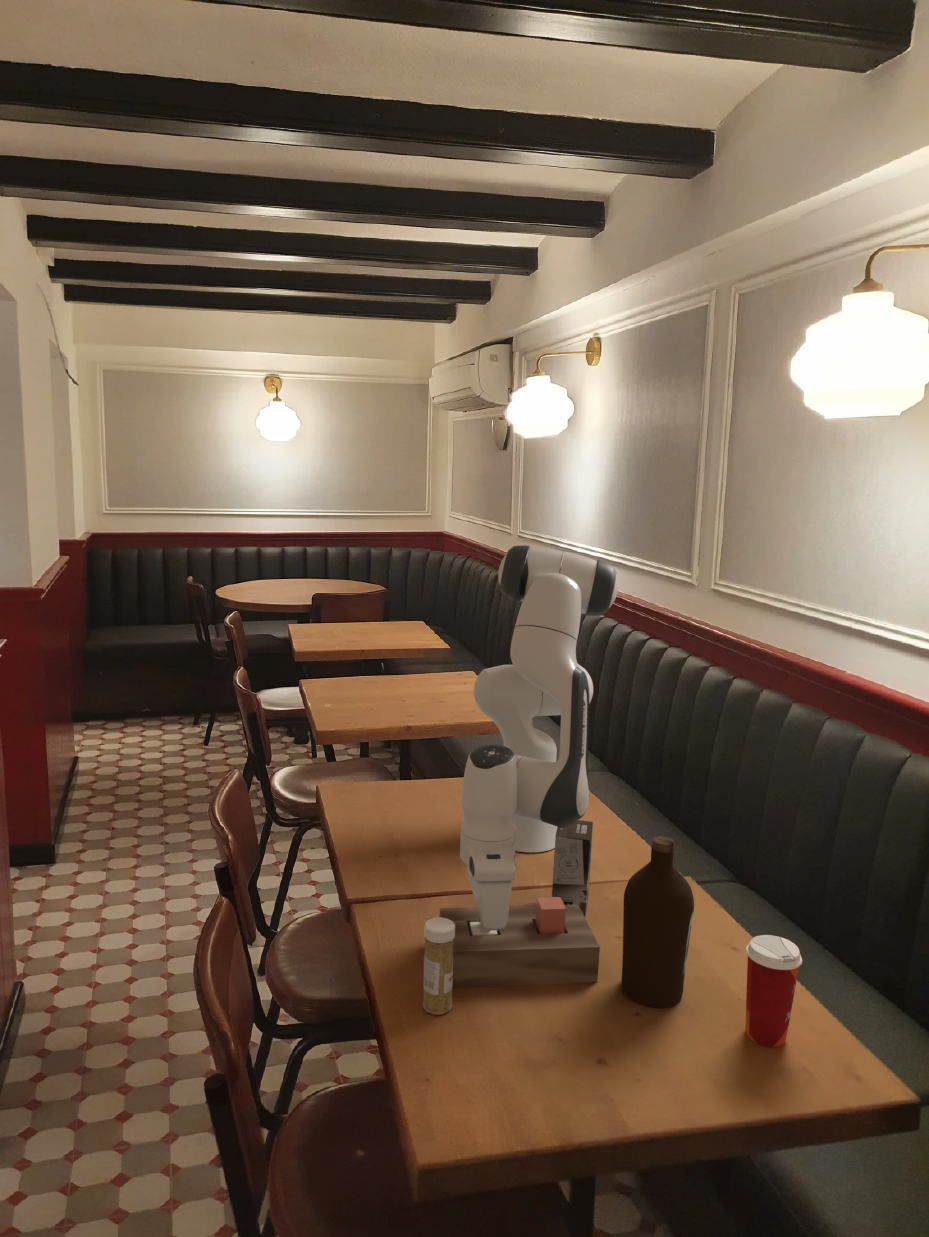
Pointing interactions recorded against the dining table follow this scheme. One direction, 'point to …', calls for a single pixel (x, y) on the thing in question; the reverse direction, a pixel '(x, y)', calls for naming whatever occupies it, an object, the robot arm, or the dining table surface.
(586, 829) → the coffee box
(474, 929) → the white plug
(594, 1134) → the dining table surface
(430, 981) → the spice jar
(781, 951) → the paper cup
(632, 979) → the olive oil
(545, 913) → the red plug
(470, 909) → the socket block
